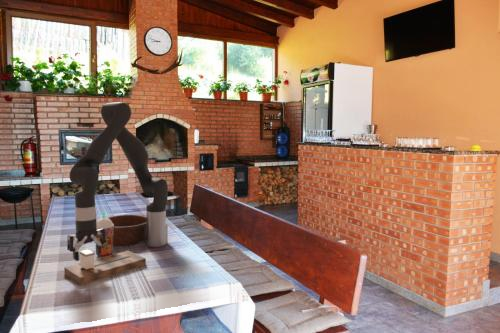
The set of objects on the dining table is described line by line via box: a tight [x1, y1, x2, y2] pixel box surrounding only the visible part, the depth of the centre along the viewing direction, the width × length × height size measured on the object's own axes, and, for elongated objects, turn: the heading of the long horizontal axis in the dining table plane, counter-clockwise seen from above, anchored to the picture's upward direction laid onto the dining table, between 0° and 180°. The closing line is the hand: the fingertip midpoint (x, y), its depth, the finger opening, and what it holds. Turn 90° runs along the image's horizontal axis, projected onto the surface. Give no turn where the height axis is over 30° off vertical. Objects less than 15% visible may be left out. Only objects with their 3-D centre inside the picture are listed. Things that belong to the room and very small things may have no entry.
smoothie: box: [96, 211, 114, 258], centre depth 176 cm, size 8×8×20 cm
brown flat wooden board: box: [64, 250, 147, 286], centre depth 159 cm, size 28×14×3 cm, turn 138°
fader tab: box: [79, 249, 95, 269], centre depth 153 cm, size 3×5×6 cm, turn 48°
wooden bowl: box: [106, 214, 147, 247], centre depth 198 cm, size 25×25×10 cm
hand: (87, 257), depth 153 cm, fingers open, 8 cm apart
